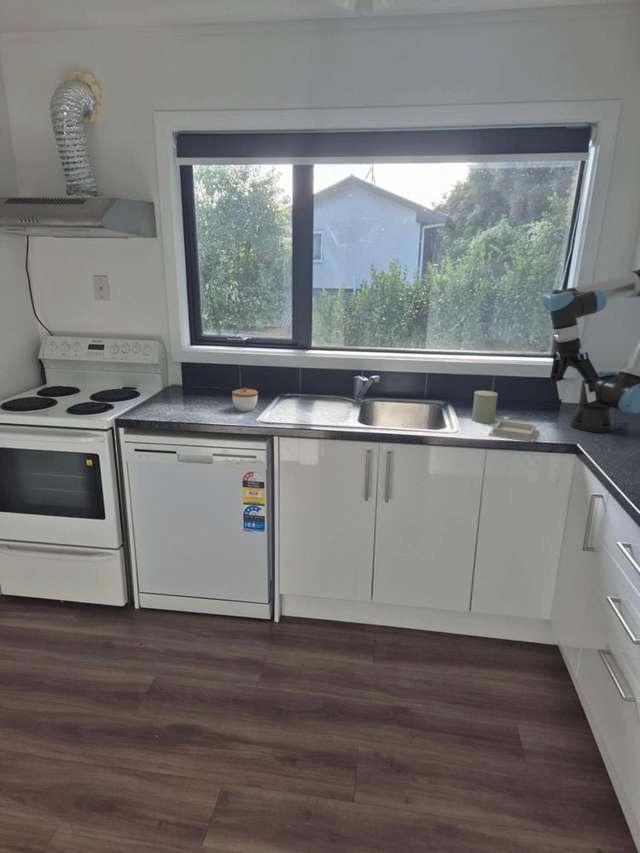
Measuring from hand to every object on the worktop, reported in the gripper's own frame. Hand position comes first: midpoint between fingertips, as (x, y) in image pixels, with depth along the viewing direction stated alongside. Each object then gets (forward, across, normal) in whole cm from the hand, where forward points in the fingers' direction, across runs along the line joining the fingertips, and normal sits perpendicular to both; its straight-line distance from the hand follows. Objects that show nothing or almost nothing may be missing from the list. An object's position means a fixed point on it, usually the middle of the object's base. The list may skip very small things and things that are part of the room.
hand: (577, 399), depth 186 cm
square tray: (+12, -22, -12) cm, 28 cm away
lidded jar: (-20, -75, -103) cm, 128 cm away
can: (+8, -40, -14) cm, 43 cm away
